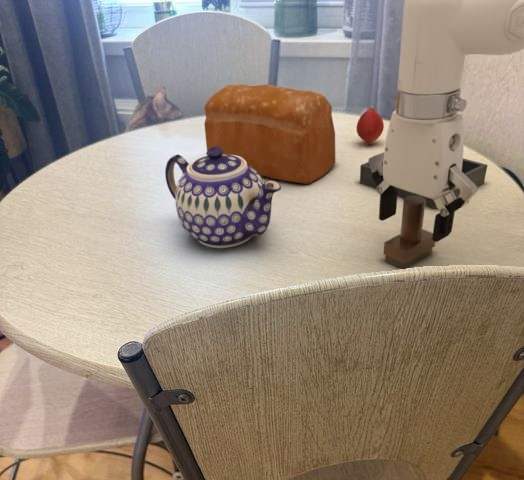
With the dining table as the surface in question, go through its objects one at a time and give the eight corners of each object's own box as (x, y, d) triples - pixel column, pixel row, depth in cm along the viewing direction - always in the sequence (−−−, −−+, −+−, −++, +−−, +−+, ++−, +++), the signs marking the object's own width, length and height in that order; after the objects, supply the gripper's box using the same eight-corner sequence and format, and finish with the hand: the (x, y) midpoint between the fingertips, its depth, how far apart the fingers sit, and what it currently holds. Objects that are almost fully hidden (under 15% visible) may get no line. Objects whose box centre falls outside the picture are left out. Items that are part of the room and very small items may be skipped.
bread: (240, 147, 124) (233, 74, 114) (340, 164, 112) (342, 82, 102) (203, 168, 116) (191, 91, 106) (307, 188, 103) (304, 103, 93)
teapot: (146, 232, 94) (126, 148, 85) (208, 201, 102) (195, 121, 93) (249, 275, 80) (238, 180, 71) (310, 236, 88) (308, 146, 79)
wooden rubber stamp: (412, 244, 84) (419, 188, 78) (433, 253, 81) (442, 196, 75) (382, 261, 80) (387, 204, 75) (403, 270, 78) (410, 212, 72)
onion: (354, 148, 118) (355, 110, 113) (358, 139, 122) (359, 102, 117) (380, 148, 117) (383, 110, 112) (383, 139, 121) (386, 102, 116)
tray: (484, 183, 99) (487, 164, 97) (434, 209, 92) (437, 189, 90) (408, 161, 110) (410, 144, 108) (359, 182, 103) (360, 165, 101)
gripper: (506, 107, 63) (480, 237, 74) (392, 86, 74) (384, 202, 85) (469, 123, 60) (447, 257, 71) (355, 99, 71) (351, 218, 81)
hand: (413, 227), depth 78 cm, fingers open, 9 cm apart
